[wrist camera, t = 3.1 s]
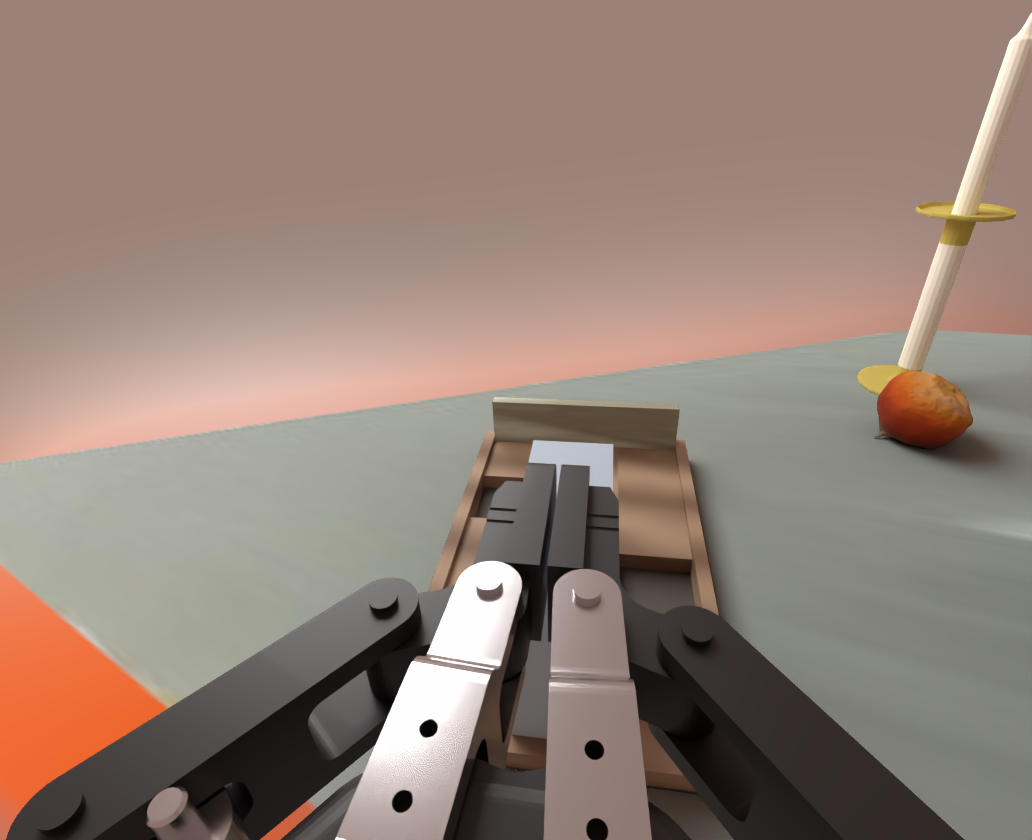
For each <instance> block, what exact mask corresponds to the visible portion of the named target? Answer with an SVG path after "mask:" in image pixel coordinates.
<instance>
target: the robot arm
mask: <svg viewBox="0 0 1032 840" xmlns="http://www.w3.org/2000/svg"><path fill="white" fill-rule="evenodd" d="M589 481H590V466H583V465H565V464H562V465H561V471H560V478H559V485H558V492H557V469H556V464H546V463H527V466H526V471H525V475H524V479H523V482H518V481H505V482H504V483H503V485H502V486H501V487H500V488H499V489H498V490H497V491H496V492H495V493H494V496H493V499H492V503H491V506H490V510H489V513H488V516H487V522H486V523H485V526H484V530H483V533H482V537H481V540H480V543H479V547H478V550H477V554H476V557H475V560H474V564H473V566H471V567H469V568H468V569H466V570H465V571H464V572H463V573H462V574H461V575H460V577H459V579H458V581H457V583H456V584H454V585H452V586H450V587H447V588H445V589H440V590H436V591H430V592H424V593H419V594H417V591H416V589H415V587H414V586H413V585H412V584H411V583H409V582H407V581H405V580H403V579H399V578H384V579H379V580H376V581H374V582H371V583H369V584H367V585H366V586H364V587H362V588H361V589H359V590H358V591H356V592H354V593H353V594H351V595H350V596H348V597H346V598H345V599H343V600H342V601H340V602H338V603H337V604H335V605H334V606H332V607H330V608H329V609H327V610H326V611H324V612H322V613H321V614H319V615H318V616H316V617H314V618H313V619H311V620H310V621H308V622H306V623H305V624H303V625H301V626H300V627H298V628H297V629H295V630H293V631H292V632H290V633H289V634H287V635H285V636H284V637H282V638H281V639H279V640H277V641H276V642H274V643H273V644H271V645H269V646H268V647H266V648H265V649H263V650H261V651H260V652H258V653H257V654H255V655H253V656H252V657H250V658H249V659H247V660H245V661H244V662H242V663H240V664H239V665H237V666H236V667H234V668H232V669H231V670H229V671H228V672H226V673H224V674H223V675H221V676H220V677H218V678H216V679H215V680H213V681H212V682H210V683H208V684H207V685H205V686H204V687H202V688H200V689H199V690H197V691H196V692H194V693H192V694H191V695H189V696H188V697H186V698H184V699H183V700H181V701H180V702H178V703H176V704H175V705H173V706H171V707H170V708H168V709H167V710H165V711H163V712H162V713H160V714H159V715H157V716H156V717H154V718H152V719H151V720H149V721H147V722H146V723H144V724H143V725H141V726H139V727H138V728H136V729H135V730H133V731H132V732H130V733H128V734H127V735H125V736H123V737H122V738H120V739H119V740H117V741H115V742H114V743H112V744H110V745H109V746H107V747H106V748H104V749H102V750H101V751H99V752H98V753H96V754H95V755H93V756H92V757H90V758H88V759H87V760H85V761H83V762H82V763H80V764H78V765H77V766H75V767H74V768H72V769H70V770H69V771H67V772H66V773H64V774H62V775H61V776H59V777H58V778H56V779H55V780H53V781H52V782H50V783H49V784H47V785H46V786H45V787H43V788H42V789H41V790H40V791H39V792H37V793H36V794H35V795H34V796H33V797H32V798H31V799H30V800H29V801H28V803H27V804H26V805H25V806H24V807H23V808H22V810H21V811H20V813H19V814H18V815H17V817H16V818H15V820H14V822H13V823H12V825H11V827H10V830H9V832H8V835H7V838H6V840H260V839H261V838H262V837H263V836H265V835H266V834H267V833H268V832H269V831H271V830H272V829H273V828H274V827H275V826H277V825H278V824H279V823H280V822H282V821H283V820H284V819H285V818H286V817H288V816H289V815H290V814H291V813H292V812H294V811H295V810H296V809H297V808H299V807H300V806H301V805H302V804H304V803H305V802H306V801H307V800H308V799H310V798H311V797H312V796H313V795H315V794H316V793H317V792H318V791H319V790H321V789H322V788H323V787H324V786H326V785H327V784H328V783H329V782H330V781H332V780H333V779H334V778H335V777H337V776H338V775H339V774H340V773H341V772H343V771H344V770H345V769H346V768H347V767H349V766H350V765H351V764H352V763H354V762H355V761H356V760H357V759H358V758H360V757H361V756H362V755H363V754H365V753H366V752H367V751H368V750H369V749H371V748H372V747H373V746H374V745H375V748H374V750H373V752H372V755H371V757H370V759H369V762H368V764H367V766H366V769H365V771H364V773H362V774H360V775H359V776H357V777H355V778H353V779H352V780H351V781H349V782H348V783H346V784H345V785H343V786H342V787H341V788H339V789H338V790H337V791H336V792H335V793H333V794H332V795H331V796H330V797H329V798H328V799H327V800H325V801H324V802H323V803H322V804H321V805H320V806H319V807H317V808H316V809H315V810H314V811H313V812H312V813H311V814H309V815H308V816H307V817H306V818H305V819H304V820H303V821H301V822H300V823H299V824H298V825H297V826H296V827H295V828H293V829H292V830H291V831H290V832H289V833H288V834H287V835H286V836H284V837H283V838H282V839H281V840H691V839H690V838H689V837H688V836H687V835H686V833H685V832H684V831H683V830H682V829H681V828H680V827H679V825H678V824H676V823H675V822H674V821H673V820H672V819H671V818H670V817H669V816H668V815H667V814H666V813H664V812H663V811H662V810H660V809H659V808H658V807H656V806H655V805H654V804H652V803H650V802H649V801H648V799H647V790H646V781H645V772H644V763H643V753H642V744H641V735H640V726H639V719H641V720H643V721H645V722H647V723H648V727H649V729H650V731H651V733H652V735H653V736H654V738H655V739H656V740H657V742H658V743H659V744H660V745H661V747H662V748H663V749H664V751H665V752H666V753H667V754H668V756H669V757H670V758H671V760H672V761H673V762H674V763H675V765H676V766H677V767H678V769H679V770H680V771H681V772H682V774H683V775H684V776H685V777H686V779H687V780H688V781H689V783H690V784H691V785H692V786H693V788H694V789H695V790H696V792H697V793H698V794H699V795H700V797H701V798H702V799H703V800H704V802H705V803H706V804H707V806H708V807H709V808H710V809H711V811H712V812H713V813H714V815H715V816H716V817H717V818H718V820H719V821H720V822H721V823H722V825H723V826H724V827H725V829H726V830H727V831H728V832H729V834H730V835H731V836H732V838H733V839H734V840H964V839H963V838H962V837H961V836H960V835H959V834H958V833H957V832H955V831H954V830H953V829H952V828H951V827H950V826H949V825H948V824H947V823H946V822H945V821H943V820H942V819H941V818H940V817H939V816H938V815H937V814H936V813H935V812H934V811H932V810H931V809H930V808H929V807H928V806H927V805H926V804H925V803H924V802H923V801H922V800H920V799H919V798H918V797H917V796H916V795H915V794H914V793H913V792H912V791H911V790H909V789H908V788H907V787H906V786H905V785H904V784H903V783H902V782H901V781H900V780H899V779H897V778H896V777H895V776H894V775H893V774H892V773H891V772H890V771H889V770H888V769H886V768H885V767H884V766H883V765H882V764H881V763H880V762H879V761H878V760H877V759H876V758H874V757H873V756H872V755H871V754H870V753H869V752H868V751H867V750H866V749H865V748H864V747H862V746H861V745H860V744H859V743H858V742H857V741H856V740H855V739H854V738H853V737H851V736H850V735H849V734H848V733H847V732H846V731H845V730H844V729H843V728H842V727H841V726H839V725H838V724H837V723H836V722H835V721H834V720H833V719H832V718H831V717H830V716H828V715H827V714H826V713H825V712H824V711H823V710H822V709H821V708H820V707H819V706H818V705H816V704H815V703H814V702H813V701H812V700H811V699H810V698H809V697H808V696H807V695H805V694H804V693H803V692H802V691H801V690H800V689H799V688H798V687H797V686H796V685H795V684H793V683H792V682H791V681H790V680H789V679H788V678H787V677H786V676H785V675H784V674H782V673H781V672H780V671H779V670H778V669H777V668H776V667H775V666H774V665H773V664H772V663H770V662H769V661H768V660H767V659H766V658H765V657H764V656H763V655H762V654H761V653H759V652H758V651H757V650H756V649H755V648H754V647H753V646H752V645H751V644H750V643H749V642H747V641H746V640H745V639H744V638H743V637H742V636H741V635H740V634H739V633H738V632H736V631H735V630H734V629H733V628H732V627H731V626H730V625H729V624H728V623H727V622H726V621H724V620H723V619H722V618H721V617H720V616H718V615H717V614H715V613H714V612H712V611H710V610H707V609H705V608H702V607H697V606H688V605H687V606H679V607H675V608H673V609H671V610H669V611H668V612H666V613H665V614H661V613H658V612H655V611H653V610H650V609H648V608H645V607H643V606H641V605H639V604H638V603H636V602H635V601H634V600H632V599H631V598H630V597H629V596H628V595H627V594H626V592H625V591H624V589H623V587H622V585H621V582H620V576H619V500H618V499H617V497H616V496H615V494H614V492H613V491H612V489H611V488H610V487H601V486H589ZM547 594H548V642H551V668H550V676H549V699H548V728H547V757H546V768H544V769H537V770H530V771H522V772H508V771H505V766H506V758H507V752H508V747H509V743H510V738H511V734H512V730H513V725H514V721H515V717H516V712H517V708H518V703H519V699H520V695H521V690H522V686H523V682H524V677H525V672H526V662H527V658H528V652H529V646H530V640H533V641H541V639H542V631H543V623H544V616H545V608H546V601H547Z"/></svg>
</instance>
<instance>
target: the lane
mask: <svg viewBox="0 0 1032 840" xmlns="http://www.w3.org/2000/svg"><path fill="white" fill-rule="evenodd" d="M492 404H493V419H494V431H487V432H486V435H485V437H484V440H483V443H482V445H481V448H480V451H479V454H478V456H477V459H476V462H475V464H474V467H473V470H472V473H471V475H470V478H469V481H468V483H467V486H466V489H465V492H464V494H463V497H462V500H461V502H460V505H459V508H458V511H457V513H456V516H455V519H454V521H453V524H452V527H451V530H450V532H449V535H448V538H447V540H446V543H445V546H444V549H443V551H442V554H441V557H440V559H439V562H438V565H437V568H436V570H435V573H434V576H433V578H432V581H431V584H430V587H429V589H428V592H430V591H436V590H440V589H445V588H447V587H450V586H452V585H454V584H456V583H457V581H458V579H459V577H460V575H461V574H462V573H463V572H464V571H465V570H466V569H468V568H469V567H471V566H473V564H474V560H475V557H476V554H477V550H478V547H479V543H480V540H481V537H482V533H483V530H484V526H485V523H486V522H487V516H488V513H489V510H490V506H491V503H492V499H493V496H494V493H495V492H496V491H497V490H498V489H499V488H500V487H501V486H502V485H503V483H504V482H505V481H518V482H523V479H524V475H525V471H526V466H527V463H528V462H529V458H530V453H531V449H532V444H533V440H539V441H559V442H579V443H599V444H613V492H614V494H615V496H616V497H617V499H618V500H619V576H620V582H621V585H622V587H623V589H624V591H625V592H626V594H627V595H628V596H629V597H630V598H631V599H632V600H634V601H635V602H636V603H638V604H639V605H641V606H643V607H645V608H648V609H650V610H653V611H655V612H658V613H661V614H665V613H666V612H668V611H669V610H671V609H673V608H675V607H679V606H687V605H688V606H697V607H702V608H705V609H707V610H710V611H712V612H714V613H715V614H717V615H718V616H719V614H718V609H717V604H716V598H715V593H714V588H713V583H712V578H711V573H710V568H709V562H708V557H707V552H706V547H705V542H704V537H703V532H702V527H701V521H700V516H699V511H698V506H697V501H696V496H695V491H694V485H693V480H692V475H691V470H690V465H689V460H688V455H687V450H686V444H685V440H676V435H677V427H678V419H679V411H680V408H679V404H656V403H631V402H605V401H580V400H554V399H528V398H503V397H494V399H493V402H492ZM639 726H640V735H641V744H642V753H643V763H644V772H645V781H646V787H650V788H658V789H665V790H672V791H680V792H687V793H694V794H698V793H697V792H696V790H695V789H694V788H693V786H692V785H691V784H690V783H689V781H688V780H687V779H686V777H685V776H684V775H683V774H682V772H681V771H680V770H679V769H678V767H677V766H676V765H675V763H674V762H673V761H672V760H671V758H670V757H669V756H668V754H667V753H666V752H665V751H664V749H663V748H662V747H661V745H660V744H659V743H658V742H657V740H656V739H655V738H654V736H653V735H652V733H651V731H650V729H649V727H648V723H647V722H645V721H643V720H641V719H639ZM546 757H547V739H543V738H536V737H528V736H520V735H512V734H511V738H510V743H509V747H508V752H507V758H506V766H505V768H512V769H519V770H527V771H530V770H537V769H544V768H546Z"/></svg>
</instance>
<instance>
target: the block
mask: <svg viewBox="0 0 1032 840" xmlns="http://www.w3.org/2000/svg"><path fill="white" fill-rule="evenodd" d="M528 463H546V464H556V469H557V492H558V485H559V478H560V471H561V465H562V464H565V465H583V466H590V481H589V486H601V487H610V488H611V489H612V491H613V444H599V443H579V442H559V441H539V440H533V444H532V449H531V453H530V458H529V462H528ZM550 668H551V642H548V594H547V601H546V608H545V616H544V623H543V631H542V639H541V641H533V640H530V646H529V652H528V658H527V662H526V672H525V677H524V682H523V686H522V690H521V695H520V699H519V703H518V708H517V712H516V717H515V721H514V725H513V730H512V735H520V736H528V737H536V738H543V739H547V728H548V699H549V676H550Z"/></svg>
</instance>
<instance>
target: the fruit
mask: <svg viewBox="0 0 1032 840" xmlns="http://www.w3.org/2000/svg"><path fill="white" fill-rule="evenodd" d="M877 411H878V415H879V429H880V432H879V434H878V435H876V436H874V437H875V438H874V439H876V438H878V437H880V436H891V437H893V438H895V439H897V440H899V441H902V442H904V443H906V444H909V445H913V446H918V447H923V448H927V449H932V448H936V447H939V446H942V445H945V444H947V443H948V442H950V441H952V440H953V439H955V438H956V437H958V436H960V435H961V434H963V433H964V432H965V430H966V429H967V428H968V427H969V426H971V425H972V423H973V417H972V415H971V412H970V408H969V403H968V400H967V398H966V396H965V395H964V394H962V392H961V391H960V390H959V389H958V388H957V387H956V386H955V385H954V384H952V383H951V382H949V381H947V380H945V379H943V378H942V377H941V376H939V375H937V374H929V373H924V372H919V371H915V370H911V371H905V372H903V373H900V374H899V375H897V376H895V377H894V378H892V379H891V380H890V381H889V382H888V384H887V385H886V387H885V388H884V389H883V390H882V392H881V393H880V395H879V397H878V401H877Z"/></svg>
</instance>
